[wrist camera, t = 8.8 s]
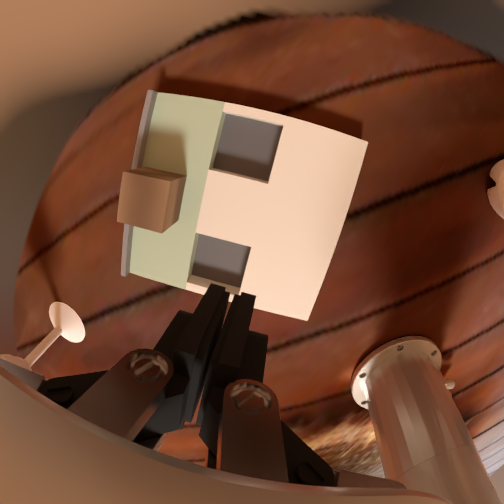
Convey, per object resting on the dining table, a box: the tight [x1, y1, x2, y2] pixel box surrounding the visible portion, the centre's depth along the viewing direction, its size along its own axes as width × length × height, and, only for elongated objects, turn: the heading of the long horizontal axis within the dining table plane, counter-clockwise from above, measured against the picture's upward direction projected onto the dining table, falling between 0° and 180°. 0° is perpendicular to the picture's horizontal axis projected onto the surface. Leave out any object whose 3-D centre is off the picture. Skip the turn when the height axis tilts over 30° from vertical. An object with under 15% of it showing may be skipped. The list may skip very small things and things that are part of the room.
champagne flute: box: [0, 302, 85, 371], centre depth 22 cm, size 7×7×24 cm
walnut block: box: [117, 167, 187, 234], centre depth 22 cm, size 4×4×4 cm
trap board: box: [121, 90, 368, 321], centre depth 25 cm, size 18×17×3 cm
